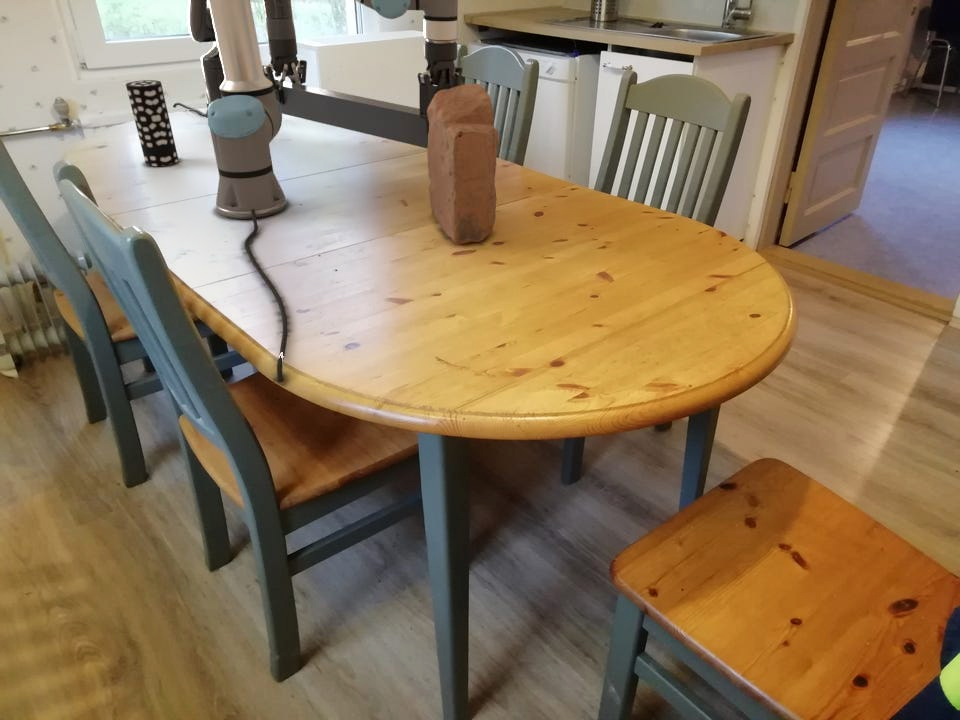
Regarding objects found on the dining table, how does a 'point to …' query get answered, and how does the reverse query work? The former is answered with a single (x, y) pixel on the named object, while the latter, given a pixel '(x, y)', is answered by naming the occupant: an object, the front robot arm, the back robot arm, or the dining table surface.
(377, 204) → the dining table surface
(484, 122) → the stone
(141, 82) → the black white spotted cylinder
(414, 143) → the post
